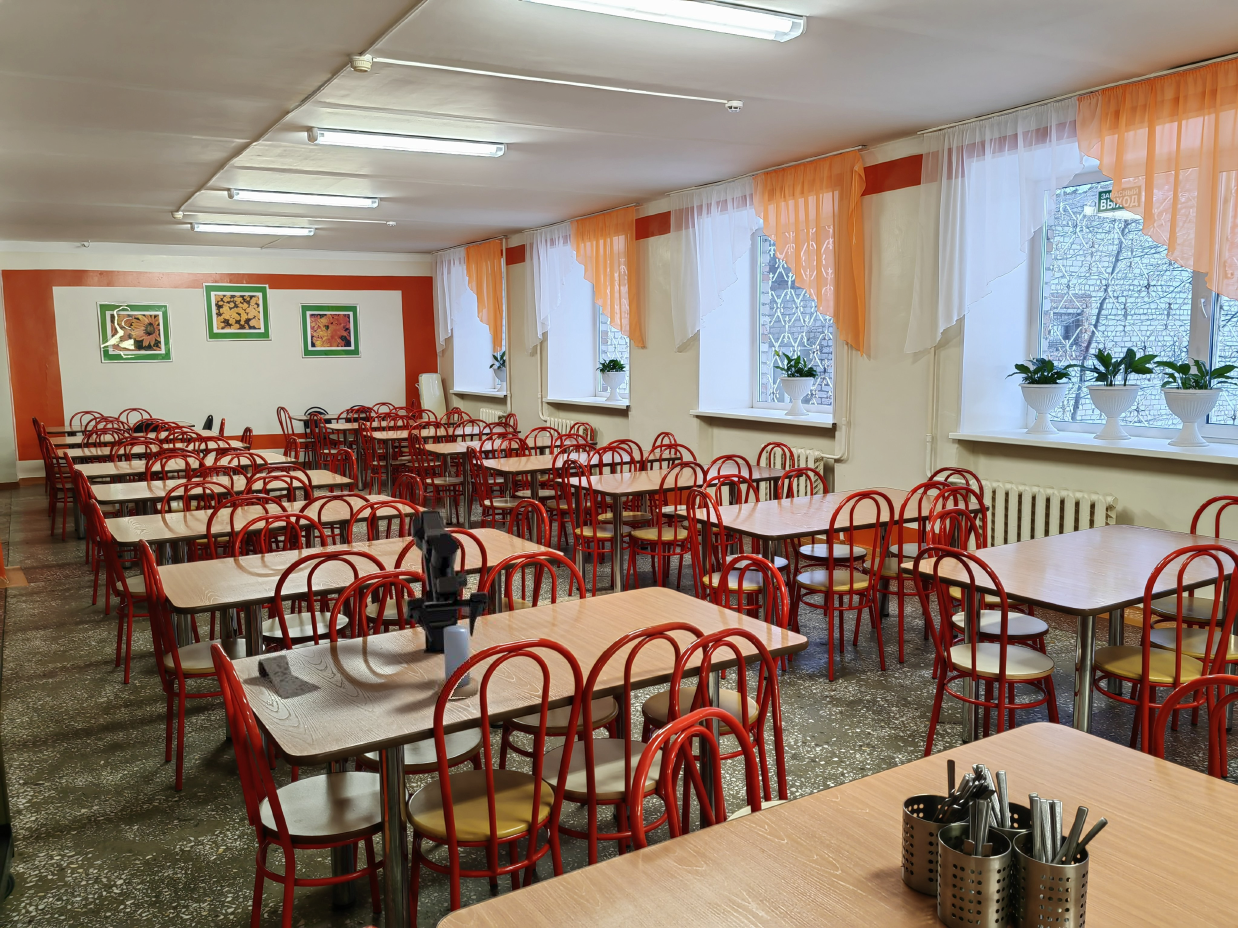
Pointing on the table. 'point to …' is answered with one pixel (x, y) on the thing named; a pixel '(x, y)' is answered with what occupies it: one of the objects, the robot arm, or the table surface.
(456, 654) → the pale blue pillar candle
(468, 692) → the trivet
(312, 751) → the table surface
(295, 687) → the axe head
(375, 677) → the table surface
